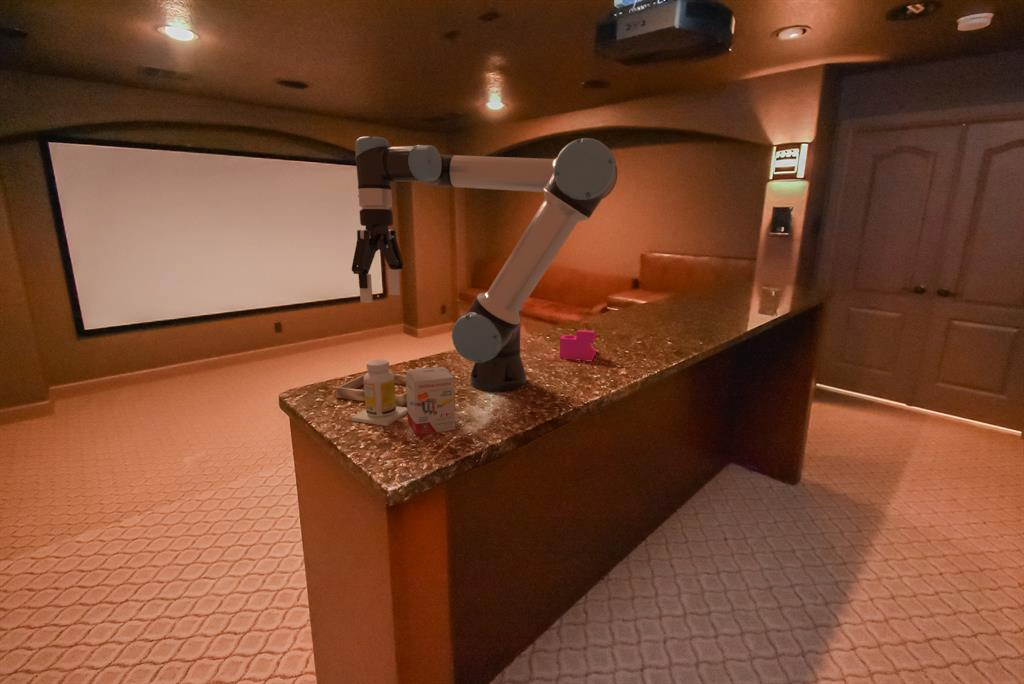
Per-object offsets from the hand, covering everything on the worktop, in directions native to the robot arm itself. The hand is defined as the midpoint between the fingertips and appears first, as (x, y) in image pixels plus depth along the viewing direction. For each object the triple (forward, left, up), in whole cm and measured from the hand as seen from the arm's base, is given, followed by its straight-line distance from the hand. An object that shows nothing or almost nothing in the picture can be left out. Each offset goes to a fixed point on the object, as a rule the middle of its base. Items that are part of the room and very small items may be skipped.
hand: (381, 298), depth 117 cm
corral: (0, +1, -24) cm, 24 cm away
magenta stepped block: (-41, -49, -24) cm, 68 cm away
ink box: (-21, +16, -24) cm, 36 cm away
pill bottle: (-8, +15, -23) cm, 29 cm away
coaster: (-8, +15, -24) cm, 29 cm away
